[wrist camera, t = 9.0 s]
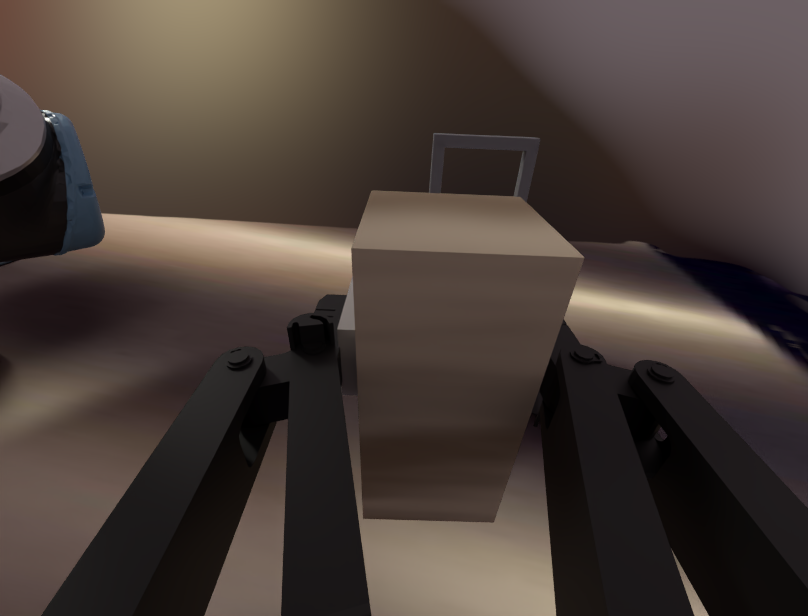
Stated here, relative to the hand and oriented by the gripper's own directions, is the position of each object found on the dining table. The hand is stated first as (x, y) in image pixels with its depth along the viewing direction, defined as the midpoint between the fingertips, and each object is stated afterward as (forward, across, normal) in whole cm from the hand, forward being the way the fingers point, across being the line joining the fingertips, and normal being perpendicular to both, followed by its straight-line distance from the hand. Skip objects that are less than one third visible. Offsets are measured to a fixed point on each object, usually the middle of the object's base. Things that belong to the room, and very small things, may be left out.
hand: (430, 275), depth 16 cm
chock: (-5, 0, -6) cm, 8 cm away
